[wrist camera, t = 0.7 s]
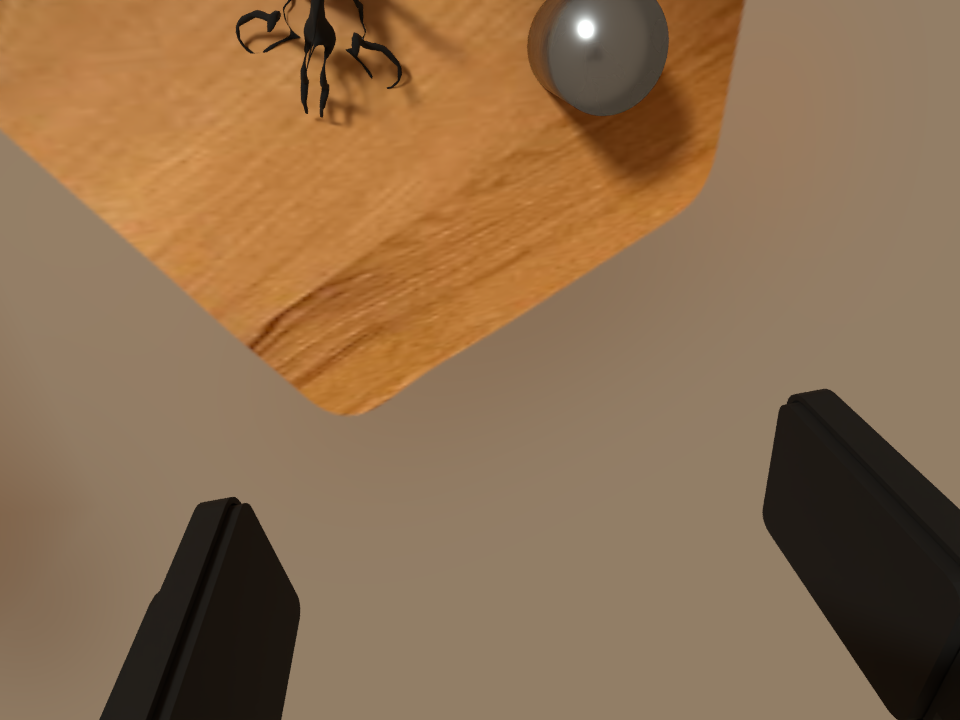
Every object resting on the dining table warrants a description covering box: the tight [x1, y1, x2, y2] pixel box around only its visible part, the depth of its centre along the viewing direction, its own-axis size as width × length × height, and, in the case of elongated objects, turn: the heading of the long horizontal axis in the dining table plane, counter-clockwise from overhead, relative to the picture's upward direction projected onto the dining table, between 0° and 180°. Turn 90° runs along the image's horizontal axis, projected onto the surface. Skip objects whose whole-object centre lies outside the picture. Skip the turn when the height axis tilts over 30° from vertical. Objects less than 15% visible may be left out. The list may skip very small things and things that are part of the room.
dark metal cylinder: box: [527, 0, 669, 116], centre depth 27 cm, size 5×5×6 cm
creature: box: [236, 0, 402, 118], centre depth 26 cm, size 8×5×8 cm
